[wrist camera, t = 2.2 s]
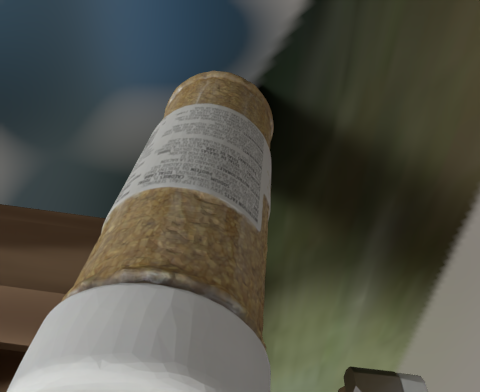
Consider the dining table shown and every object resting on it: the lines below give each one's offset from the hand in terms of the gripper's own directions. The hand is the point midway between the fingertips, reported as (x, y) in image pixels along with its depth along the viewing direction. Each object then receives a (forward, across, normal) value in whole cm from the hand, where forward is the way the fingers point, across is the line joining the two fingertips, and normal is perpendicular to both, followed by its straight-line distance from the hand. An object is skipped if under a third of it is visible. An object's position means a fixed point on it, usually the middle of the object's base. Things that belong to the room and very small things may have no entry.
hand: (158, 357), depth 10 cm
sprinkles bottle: (+11, 0, -1) cm, 11 cm away
